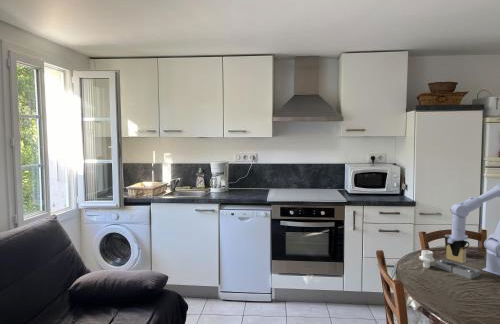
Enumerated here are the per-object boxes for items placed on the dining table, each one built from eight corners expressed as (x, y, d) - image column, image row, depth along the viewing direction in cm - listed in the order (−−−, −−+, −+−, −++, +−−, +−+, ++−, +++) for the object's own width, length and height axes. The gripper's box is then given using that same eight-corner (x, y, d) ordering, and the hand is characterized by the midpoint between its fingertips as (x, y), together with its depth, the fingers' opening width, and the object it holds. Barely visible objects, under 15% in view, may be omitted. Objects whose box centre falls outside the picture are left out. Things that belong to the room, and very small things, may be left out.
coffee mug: (440, 252, 202) (441, 235, 201) (450, 250, 206) (451, 233, 205) (459, 258, 192) (460, 241, 191) (469, 256, 195) (470, 239, 194)
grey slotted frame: (479, 275, 169) (480, 269, 169) (470, 279, 165) (471, 272, 164) (443, 263, 184) (443, 258, 184) (434, 266, 180) (434, 260, 180)
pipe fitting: (430, 264, 183) (430, 249, 182) (435, 269, 176) (436, 254, 175) (417, 263, 184) (418, 249, 183) (422, 269, 177) (423, 253, 176)
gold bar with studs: (465, 261, 172) (466, 247, 171) (462, 262, 170) (462, 248, 170) (449, 257, 179) (449, 243, 178) (446, 258, 177) (446, 244, 177)
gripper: (458, 224, 180) (456, 250, 181) (442, 228, 173) (440, 255, 174) (472, 227, 174) (471, 254, 175) (456, 231, 166) (455, 259, 168)
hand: (457, 255), depth 174 cm, fingers closed on gold bar with studs, 3 cm apart
